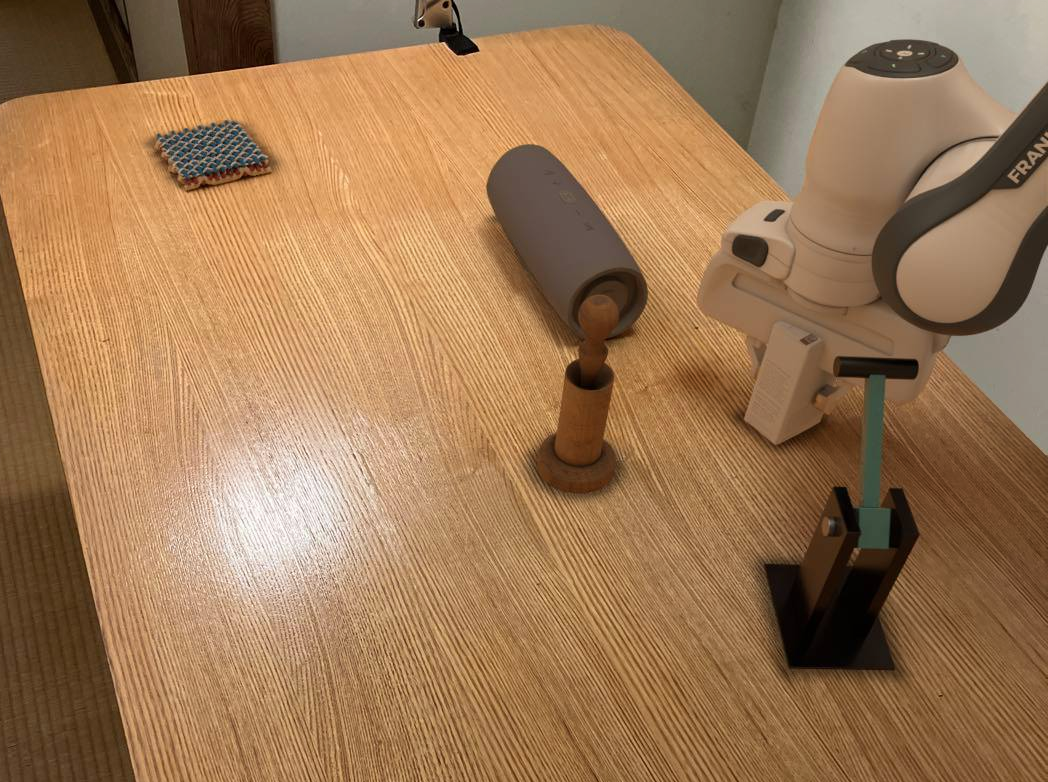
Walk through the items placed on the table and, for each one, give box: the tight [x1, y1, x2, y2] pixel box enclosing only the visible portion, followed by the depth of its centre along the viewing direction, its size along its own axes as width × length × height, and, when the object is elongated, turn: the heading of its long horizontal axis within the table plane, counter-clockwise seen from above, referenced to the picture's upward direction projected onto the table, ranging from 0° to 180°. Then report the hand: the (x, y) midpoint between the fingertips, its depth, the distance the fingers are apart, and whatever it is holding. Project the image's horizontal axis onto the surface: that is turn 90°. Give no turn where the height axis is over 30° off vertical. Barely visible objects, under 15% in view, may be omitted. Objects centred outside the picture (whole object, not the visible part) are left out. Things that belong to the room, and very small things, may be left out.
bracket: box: [763, 485, 921, 671], centre depth 78 cm, size 10×8×13 cm
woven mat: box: [154, 119, 273, 192], centre depth 121 cm, size 10×11×2 cm
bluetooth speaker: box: [486, 143, 649, 340], centre depth 107 cm, size 23×9×10 cm, turn 20°
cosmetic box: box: [743, 321, 838, 445], centre depth 93 cm, size 6×4×12 cm
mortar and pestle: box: [536, 295, 619, 494], centre depth 85 cm, size 7×6×18 cm
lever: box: [833, 356, 919, 550], centre depth 74 cm, size 13×6×2 cm
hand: (791, 392), depth 94 cm, fingers closed on cosmetic box, 5 cm apart
